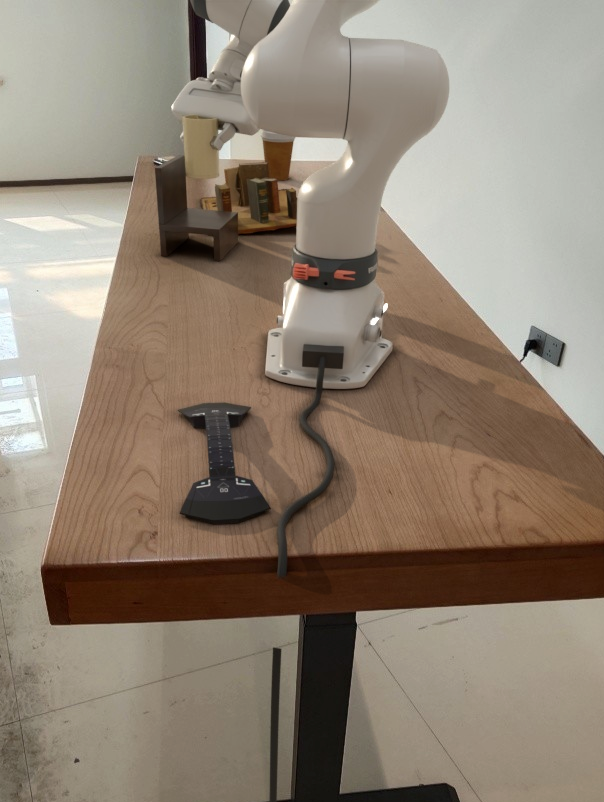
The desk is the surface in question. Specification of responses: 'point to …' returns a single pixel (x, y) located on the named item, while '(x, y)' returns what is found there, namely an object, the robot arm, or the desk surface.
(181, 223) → the dark grey toy chair
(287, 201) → the book stand
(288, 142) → the disposable coffee cup
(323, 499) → the desk surface
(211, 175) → the cup
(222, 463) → the dark piece
